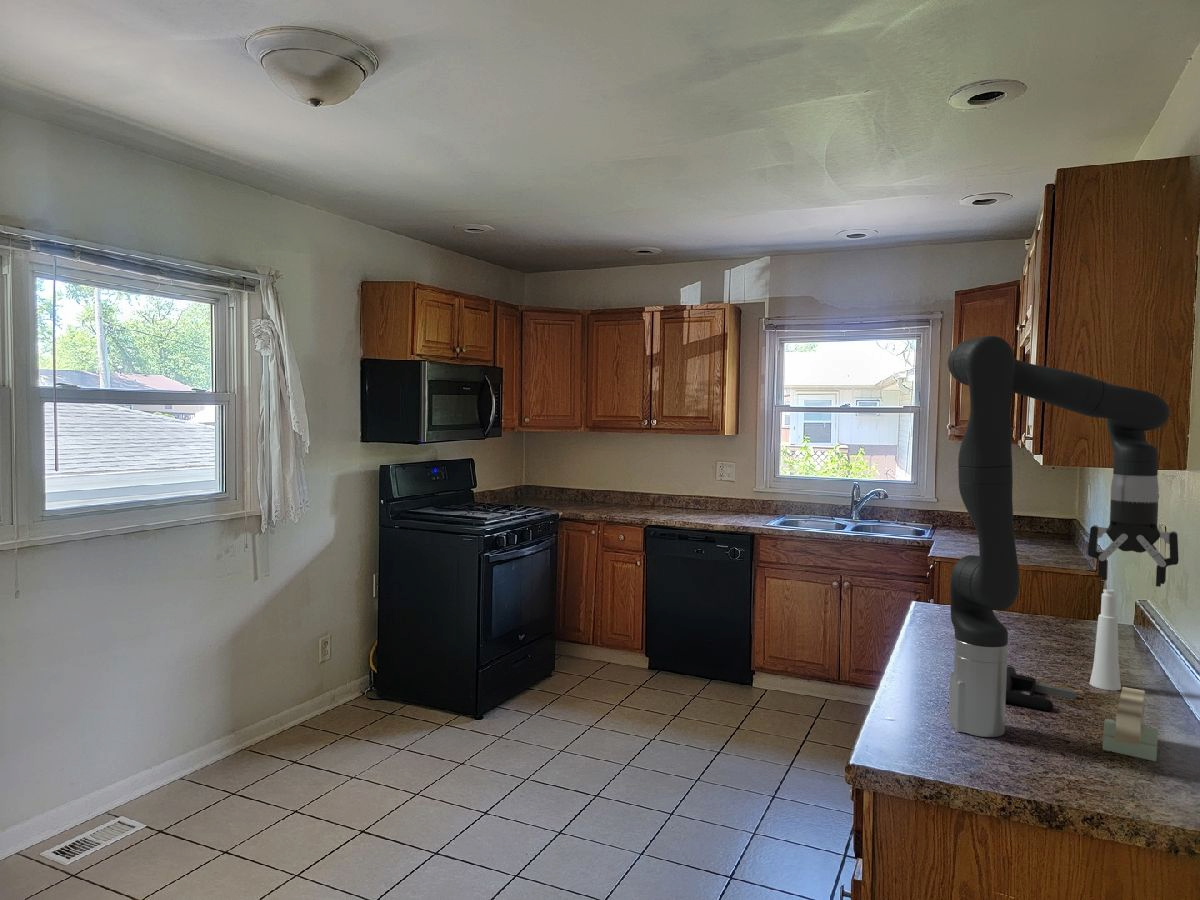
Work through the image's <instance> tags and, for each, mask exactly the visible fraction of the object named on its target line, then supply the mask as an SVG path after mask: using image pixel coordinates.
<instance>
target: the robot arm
mask: <svg viewBox="0 0 1200 900" xmlns="http://www.w3.org/2000/svg"><path fill="white" fill-rule="evenodd" d="M1014 354H1015V353H1014V351H1013V348H1012V347H1011V345H1010V344H1009V342H1008V341H1006V339H1004V338H1002V337H1000V336H996V335H985V336H980V337H975V338H969V339H967V340H964V341H962V342H960V343H958V344H957V345H955V346H954V347H953V348H952V350H951V351H950V353H949V356H948V360H947V367H948V371H949V373H950V375H951V376H952V377H953V379H955V380H956V381H957V382H959V383H960V384H962V385H965V386H969V401H970V402H969V403H970V404H969V405H970V410H969V411H970V412H969V416H968V417H969V418H968V422H967V426H966V429H965V431H964V434H963V438H962V439H961V444H960V446H959V447H960V448H959V453H958V459H957V460H958V461H957V464H958V465H957V466H958V467H957V469H958V472H957V473H958V474H957V475H958V476H957V477H958V490H959V494H960V498H961V500H962V503H963V504H964V507H965V508H966V511H967V512H968V514H969V517H970V519H971V521H972V524H973V525H974V527H975V531H976V534H977V539H978V547H979V555H975V554H972V555H965V556H962V557H961V558H959V559H958V560H957V561H956V563H955V564H954V566H953V569H952V571H951V575H950V580H949V581H950V582H949V588H950V589H949V594H950V595H949V596H950V597H949V598H950V599H949V601H950V620H951V623H952V626H953V628H954V653H953V655H954V656H953V672H951V673H950V676H949V678H950V679H949V701H948V702H949V706H948V707H949V708H948V721H949V722H950V724H951V726H953V728H954V729H955V730H956V732H958V733H965V734H969V735H972V736H977V737H983V738H997V737H1001V736H1002V735H1004V734H1005V730H1006V729H1005V728H1006V709H1007V708H1006V704H1007V702H1006V679H1007V667H1008V649H1009V648H1008V646H1009V632H1008V629H1007V628H1006V626H1004V625H1003V623H1002V622H1001V621H1000V620H999V619H998V617H997V616H996V614H995V612H994V611H1001V612H1002V611H1005V610H1008V609H1009V608H1010V607H1012V606H1013V605H1014V604H1015V602H1016V600H1017V599H1018V595H1019V592H1020V581H1021V580H1020V570H1019V569H1020V568H1019V563H1018V555H1017V554H1018V553H1017V548H1016V547H1017V546H1016V540H1015V539H1016V538H1015V527H1014V524H1015V523H1014V509H1013V508H1014V506H1013V505H1014V504H1013V503H1014V502H1013V486H1014V485H1013V482H1014V479H1013V477H1014V475H1013V456H1012V455H1013V454H1012V451H1013V450H1012V401H1013V393H1014V394H1017V395H1021V396H1024V397H1028V398H1030V399H1033V400H1036V401H1037V400H1038V401H1040V402H1043V403H1045V404H1049V405H1052V406H1055V407H1058V408H1061V409H1064V410H1068V411H1070V412H1073V413H1077V414H1079V415H1083V416H1086V417H1089V418H1099V419H1106V424H1107V431H1108V435H1109V437H1110V438H1109V439H1110V443H1111V445H1112V450H1113V465H1112V466H1113V467H1112V468H1113V469H1112V473H1113V474H1112V479H1111V484H1110V503H1109V505H1110V508H1109V510H1110V512H1109V524H1108V527H1101V526H1098V525H1095V524H1093V525H1092V526H1091V527H1090V529H1089V539H1088V547H1087V556H1088V557H1091V558H1094V559H1096V560H1097V561H1098V567H1097V568H1098V569H1097V571H1098V572H1097V575H1098V577H1099V578H1101V580H1102V581H1105V582H1106V581H1107V580H1108V571H1109V570H1108V568H1109V560H1108V558H1110V556H1111V555H1112V554H1113V553H1114V552H1115V551H1116V550H1117V549H1119V550H1121V552H1134V553H1141V554H1142V553H1145V552H1147V553H1148V554H1149V556H1150V557H1151V558H1152V559H1153V560H1154V561H1155V563H1156V564H1157V565H1156V570H1155V571H1156V572H1155V573H1156V574H1155V577H1156V579H1155V587H1159V588H1161V586H1162V585H1164V584H1165V582H1166V580H1167V579H1166V577H1167V567H1169V566H1175V565H1178V564H1179V539H1178V538H1179V537H1178V536H1179V535H1178V532H1176V531H1175V530H1174V531H1169V532H1168V531H1159V528H1158V522H1159V521H1158V519H1159V518H1158V517H1159V516H1158V515H1159V513H1158V512H1159V498H1160V491H1159V490H1160V489H1159V487H1160V486H1159V478H1158V476H1159V474H1158V473H1159V470H1158V469H1159V468H1158V467H1159V451H1158V449H1157V447H1156V446H1154V445H1153V444H1150V443H1148V442H1147V438H1146V433H1145V432H1147V431H1148V432H1149V431H1154V430H1157V429H1159V428H1161V427H1162V426H1164V425H1165V424H1166V423H1167V422H1168V420H1169V417H1170V408H1169V405H1168V403H1167V402H1166V400H1165V399H1164V398H1162V397H1161V396H1159V395H1158V394H1155V393H1152V392H1150V391H1146V390H1142V389H1138V388H1131V387H1127V386H1123V385H1122V386H1121V385H1117V384H1116V385H1115V384H1112V383H1108V382H1105V381H1103V380H1100V379H1098V378H1094V377H1091V376H1088V375H1085V374H1083V373H1082V374H1081V373H1078V372H1073V371H1069V370H1066V369H1061V368H1053V367H1048V366H1045V365H1044V366H1043V365H1038V364H1034V363H1030V362H1026V361H1022V360H1019V359H1016V358H1015V355H1014ZM1104 534H1107V536H1108V538H1109V539H1110V540H1111V541H1112V542H1111V543H1110V544H1109V545H1108V546H1107V548H1105V549H1104V550H1103V551H1102V552H1100V551H1098V550H1097V549H1098V542H1099V539H1100V538H1102V537H1103V535H1104ZM1160 538H1161V539H1163V541H1164V542H1165V543H1166V544H1167V545H1169V557H1166V558H1164V556H1163V555H1162V554H1161V552H1160V551H1159V549H1158V548H1157V547H1156V546H1155V545H1154V544H1156V543H1157V541H1158V540H1159V539H1160Z"/></svg>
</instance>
